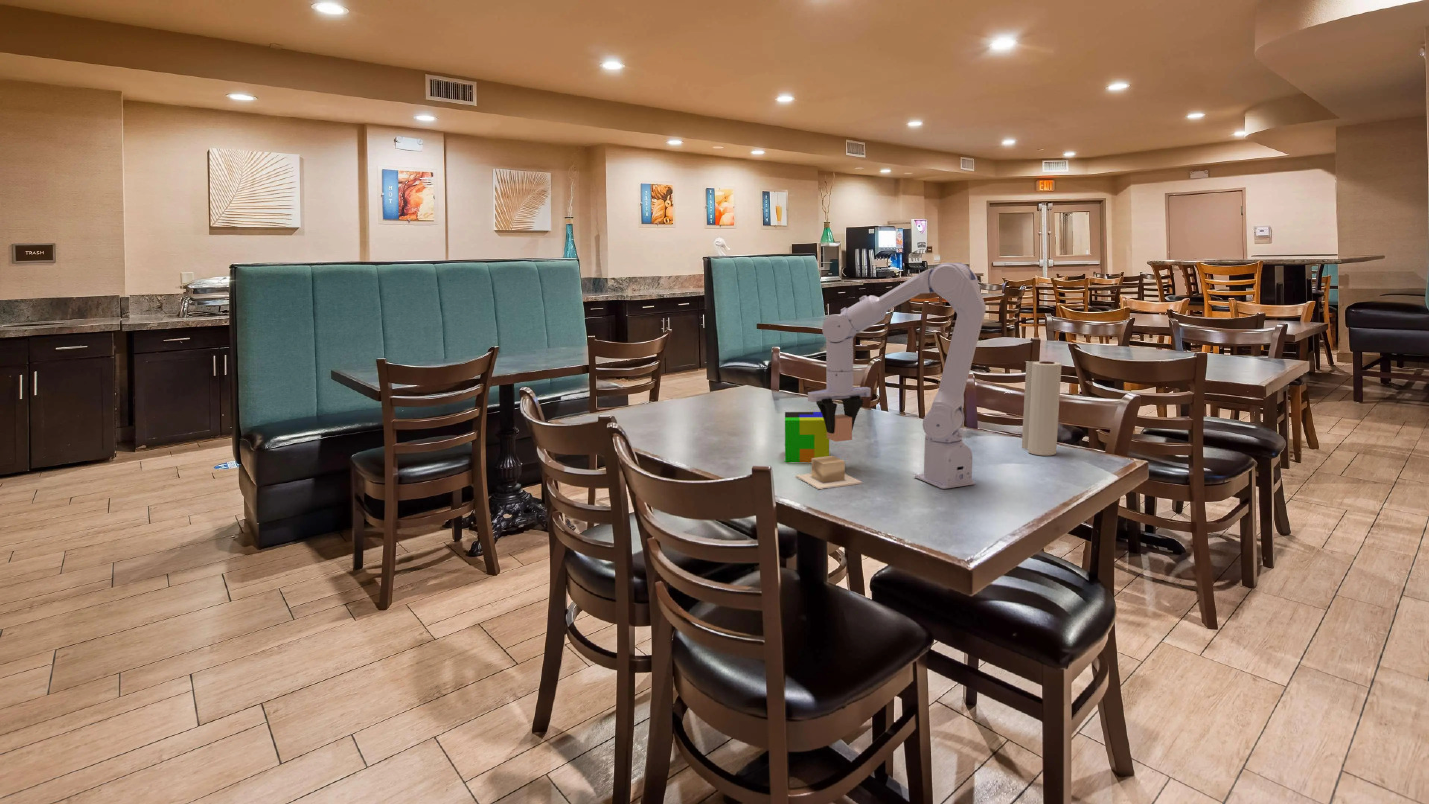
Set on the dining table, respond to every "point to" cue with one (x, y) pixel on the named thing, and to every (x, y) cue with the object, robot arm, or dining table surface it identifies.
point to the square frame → (820, 485)
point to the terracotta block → (841, 429)
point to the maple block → (828, 469)
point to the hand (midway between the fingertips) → (839, 431)
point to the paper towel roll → (1041, 407)
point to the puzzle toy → (805, 436)
